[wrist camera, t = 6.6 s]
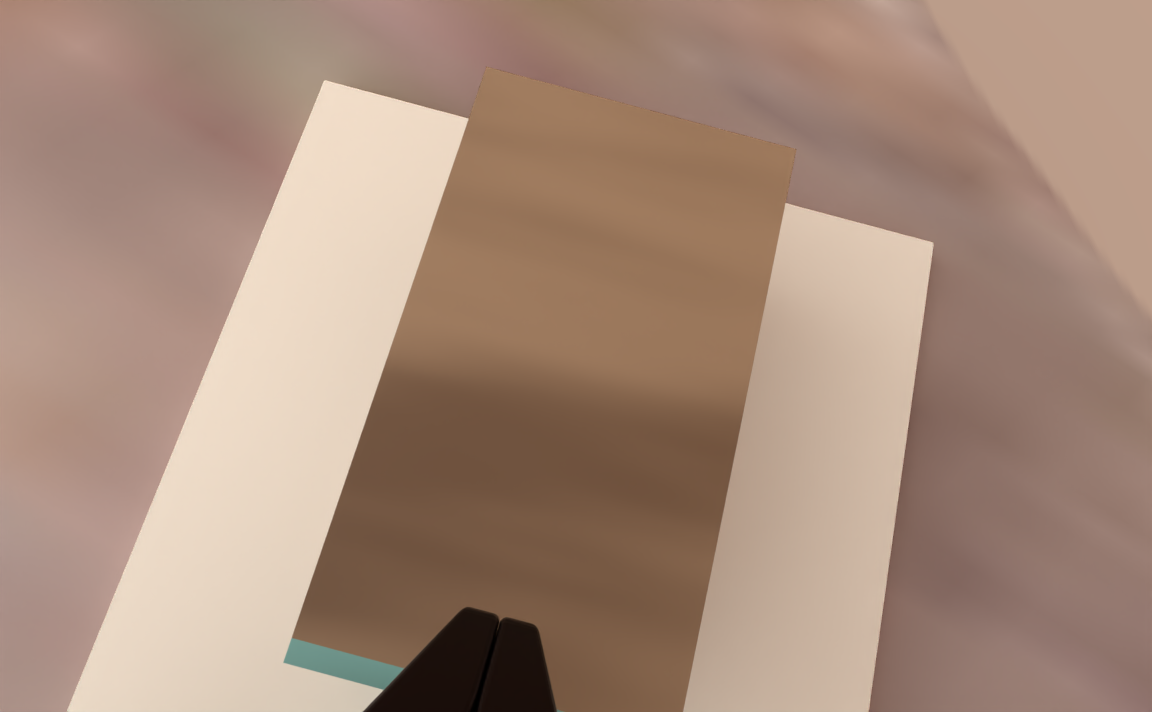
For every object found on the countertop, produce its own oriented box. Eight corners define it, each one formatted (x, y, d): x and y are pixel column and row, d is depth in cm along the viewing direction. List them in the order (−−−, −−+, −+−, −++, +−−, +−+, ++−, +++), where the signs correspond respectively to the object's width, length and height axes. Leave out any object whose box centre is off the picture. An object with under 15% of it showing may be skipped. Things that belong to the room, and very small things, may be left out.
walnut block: (671, 768, 10) (796, 149, 13) (283, 662, 10) (486, 66, 13) (621, 711, 15) (719, 270, 17) (358, 639, 15) (495, 210, 17)
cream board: (792, 1149, 14) (804, 1173, 13) (-6, 931, 14) (-29, 946, 13) (920, 253, 19) (933, 242, 18) (330, 95, 19) (324, 79, 18)
